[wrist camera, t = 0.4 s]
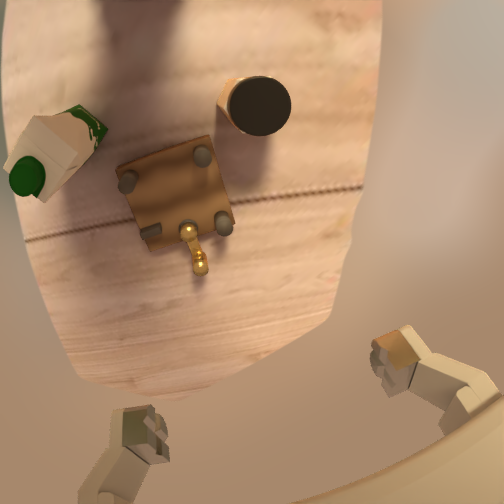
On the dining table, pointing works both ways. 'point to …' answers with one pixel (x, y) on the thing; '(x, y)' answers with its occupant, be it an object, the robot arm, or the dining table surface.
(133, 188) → the stool seat
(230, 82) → the jar
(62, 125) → the milk carton
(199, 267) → the gold bone
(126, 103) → the dining table surface
